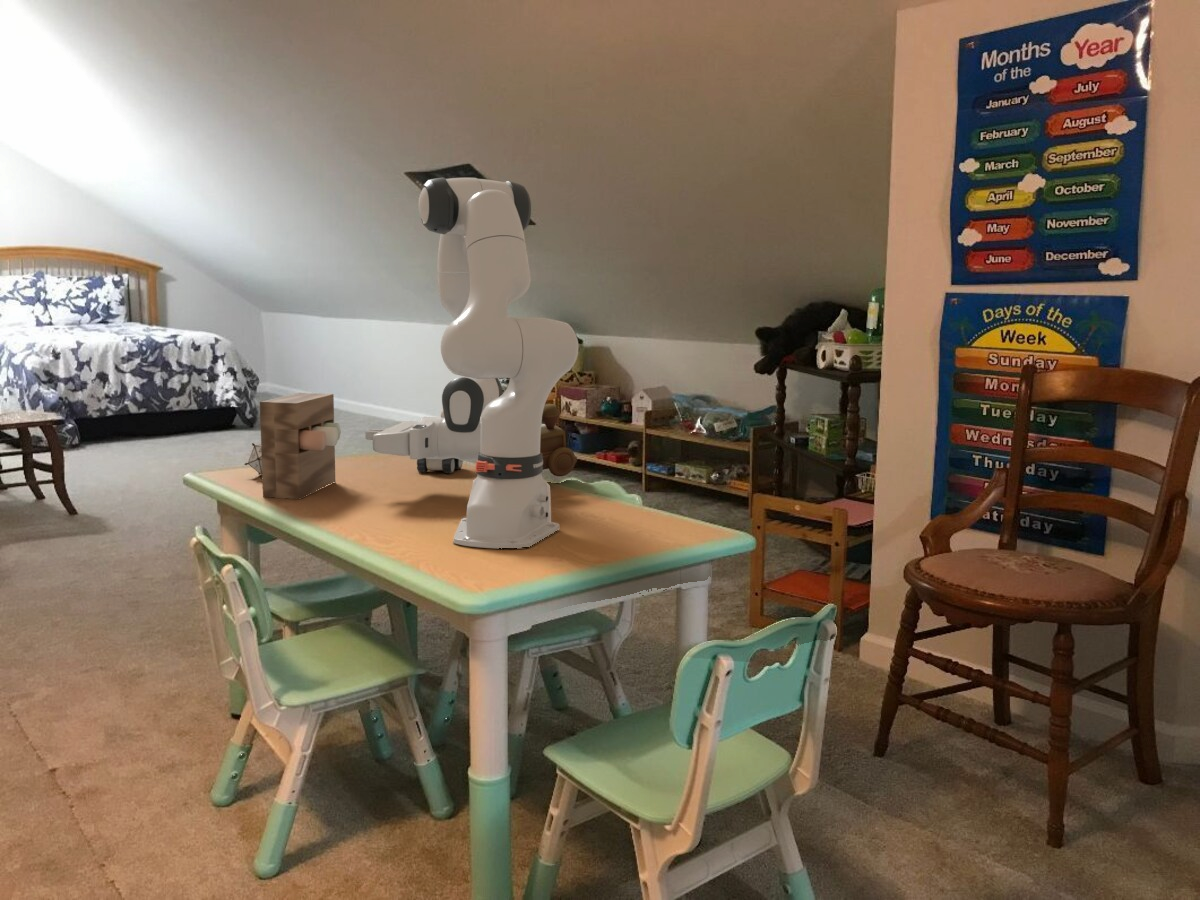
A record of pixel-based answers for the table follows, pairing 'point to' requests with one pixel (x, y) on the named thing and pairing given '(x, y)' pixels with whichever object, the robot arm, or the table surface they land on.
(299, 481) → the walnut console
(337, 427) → the sage button
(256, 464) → the game die
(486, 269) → the robot arm
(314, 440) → the terracotta button
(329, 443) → the cream button
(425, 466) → the toy excavator
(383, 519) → the table surface
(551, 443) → the wooden toy train
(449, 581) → the table surface
